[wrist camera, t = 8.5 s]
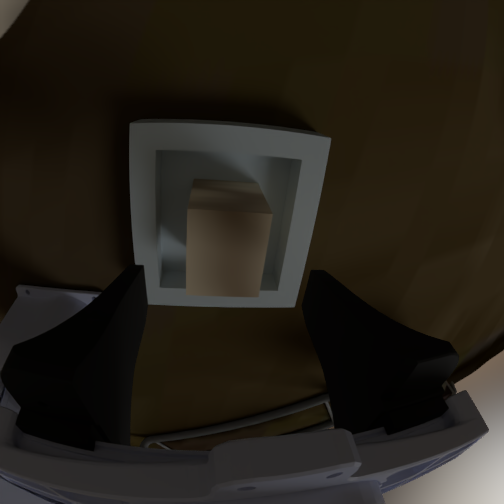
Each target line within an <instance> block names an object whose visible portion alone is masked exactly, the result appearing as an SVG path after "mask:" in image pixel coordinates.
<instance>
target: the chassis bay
mask: <svg viewBox="0 0 504 504" xmlns="http://www.w3.org/2000/svg"><path fill="white" fill-rule="evenodd" d="M330 142H331V138H330V137H327V136H325V135H323V134H320V133H318V132H314V131H308V130H301V129H294V128H287V127H279V126H271V125H262V124H253V123H242V122H230V121H214V120H193V119H140V120H137V121H134V122H132V123H130V133H129V176H130V204H131V221H132V235H133V247H134V257H135V265H144V271H145V281H146V290H147V299H148V304H155V305H176V306H204V307H295V303H296V299H297V295H298V291H299V287H300V283H301V279H302V275H303V271H304V267H305V263H306V258H307V254H308V250H309V245H310V241H311V237H312V232H313V228H314V223H315V219H316V214H317V209H318V204H319V200H320V195H321V190H322V185H323V180H324V175H325V169H326V164H327V159H328V153H329V148H330ZM194 179H210V180H225V181H239V182H251V183H258V184H259V186H260V188H261V190H262V192H263V194H264V197H265V199H266V201H267V203H268V205H269V207H270V209H271V211H272V213H273V216H272V222H271V228H270V234H269V240H268V246H267V252H266V257H265V263H264V269H263V275H262V280H261V286H260V292H259V297H222V296H196V295H186V241H187V209H188V204H189V199H190V194H191V189H192V185H193V180H194Z"/></svg>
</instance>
